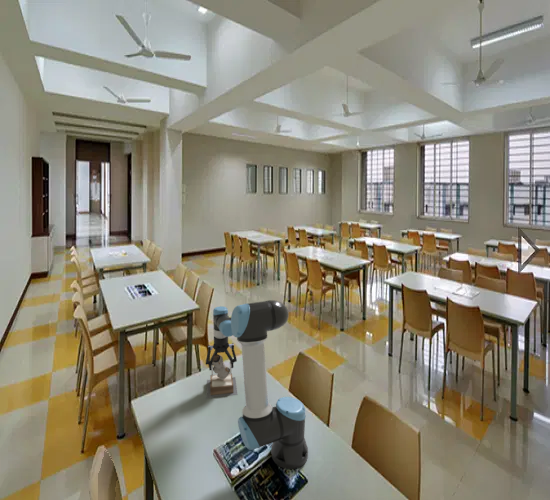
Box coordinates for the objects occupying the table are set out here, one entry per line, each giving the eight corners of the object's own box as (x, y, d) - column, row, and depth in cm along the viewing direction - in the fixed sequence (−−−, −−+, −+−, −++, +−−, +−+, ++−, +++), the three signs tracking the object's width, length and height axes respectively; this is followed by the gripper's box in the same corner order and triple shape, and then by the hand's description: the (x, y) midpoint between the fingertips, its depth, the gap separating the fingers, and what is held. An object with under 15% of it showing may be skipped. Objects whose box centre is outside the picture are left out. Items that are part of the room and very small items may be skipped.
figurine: (210, 376, 170) (209, 351, 168) (227, 372, 175) (227, 347, 172) (214, 385, 163) (213, 358, 160) (232, 380, 167) (232, 355, 164)
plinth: (233, 392, 165) (233, 385, 164) (210, 395, 163) (210, 388, 162) (232, 379, 177) (231, 372, 176) (210, 381, 174) (210, 374, 174)
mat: (237, 395, 164) (237, 394, 164) (206, 398, 160) (206, 398, 160) (235, 377, 179) (235, 377, 179) (207, 380, 176) (206, 380, 176)
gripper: (240, 331, 170) (241, 368, 174) (200, 334, 166) (201, 372, 170) (242, 337, 163) (242, 376, 167) (199, 340, 158) (200, 380, 162)
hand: (221, 374), depth 168 cm, fingers closed on figurine, 9 cm apart
